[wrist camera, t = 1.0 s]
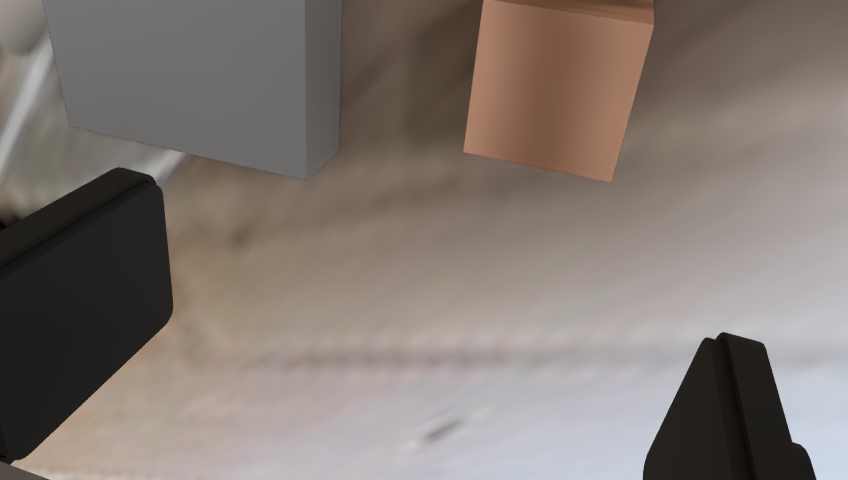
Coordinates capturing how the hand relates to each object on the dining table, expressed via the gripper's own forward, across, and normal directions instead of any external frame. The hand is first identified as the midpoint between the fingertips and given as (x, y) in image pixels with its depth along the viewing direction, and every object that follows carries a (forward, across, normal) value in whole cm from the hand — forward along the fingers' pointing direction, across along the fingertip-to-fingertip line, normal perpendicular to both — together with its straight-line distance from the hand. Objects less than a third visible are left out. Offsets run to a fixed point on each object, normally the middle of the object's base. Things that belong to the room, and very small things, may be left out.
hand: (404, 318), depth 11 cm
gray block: (+22, +17, +1) cm, 28 cm away
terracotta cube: (+22, -1, 0) cm, 22 cm away
